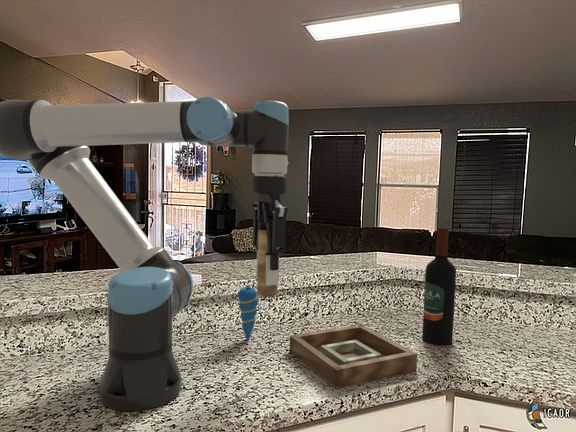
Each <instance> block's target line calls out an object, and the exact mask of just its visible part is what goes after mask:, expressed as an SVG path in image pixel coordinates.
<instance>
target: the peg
mask: <svg viewBox="0 0 576 432" xmlns="http://www.w3.org/2000/svg"><path fill="white" fill-rule="evenodd" d="M257 251H258V272H257V271H256V276H257V280H256V282H257V283H256V293H257V296H261V297H274V296H277V294H278V284H277V285H265V279H266V255H265V253H268V242H267V230H258V250H257Z"/></svg>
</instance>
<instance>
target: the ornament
mask: <svg viewBox="0 0 576 432" xmlns="http://www.w3.org/2000/svg"><path fill="white" fill-rule="evenodd" d="M237 296H238V301H239V304H238V308H239V310H240V319H241V322H242V323H241V327H242V330H243V333H244V337H245V338H246V340H247V341H248V340H250V338H251V335H252V333H253V331H254V330H253V329H254V326H255V323H256V316H257V312H258V304H259V298H258V294H257V289H255V288H253V287H251V286H250V284H246V285H245V287H242V288H241V289H240V290H239V291H238V294H237Z"/></svg>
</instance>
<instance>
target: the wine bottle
mask: <svg viewBox="0 0 576 432" xmlns="http://www.w3.org/2000/svg"><path fill="white" fill-rule="evenodd" d="M449 233H450V231H449V227H441V226H440V227H439V226H438V227H437V229H436V245H435V246H436V248H435V249H436V250H435V251H436V252H435V257H434V259H432V260H431V261H429V262H428V263H427V265H426V267H425V271H424V273H425V276H424V293H423V294H424V297H423V312H422V314H423V317H422V332H421V334H422V337H421V338H422V341H424V342H425V343H427V344H430V345H434V346H442V347H443V346H450V345H452V344H453V339H454V337H453V336H454V319H455V318H454V315H455V300H456V284H457V283H456V281H457V279H456V278H457V268H456V266H455V265H454V264H453V263H452V262H451V261H450V260H449V258H448V247H449V244H448V243H449V235H450V234H449Z"/></svg>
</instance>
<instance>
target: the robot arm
mask: <svg viewBox="0 0 576 432" xmlns="http://www.w3.org/2000/svg"><path fill="white" fill-rule="evenodd" d="M289 113H290V112H289V106H288V105H287V104H286V103H285V102H282V101H278V100H258V101H256V102H255V103H254V104H253V108H252V110H248V111H247V110H243V111H242V110H231V109H230V107H229V106H228V105H227V103H225V102H224V101H222V100H221V99H218V98H217V97H213V96H203V97H199V98H198V99H196V100H189V101H188V100H186V101H184V100H183V101H182V100H181V101H179V100H178V101H176V100H175V101H150V102H118V103H117V102H115V103H113V102H112V103H89V104H88V103H86V104H84V103H83V104H81V103H80V104H57V105H56V104H54V105H53V104H51V103H50V102H49V101H47V100H45V99H7V100H6V99H5V100H3V101H0V154H1V155H2V156H5V157H7V158H10V159H13V160H21V161H28V162H29V163H30V165H31V166H32V168H34V170H35V171H36V172H37V173H38V175H39V176H40V178H42V179H43V180H49V181H53V183H54V184H55V185H56V186H57V188H58V189H59V190H60V191H61V193H62V194H63V196H64V197H65V198H66V199H67V200H68V202H69V203H70V205H71V206H72V208H73V209H74V210H75V211H76V212H77V214H78V216H79V217H80V218H81V220H82V221H83V222H84V223H85V224H86V226H87V227H88V228H89V230H90V231H91V232H92V233H93V235H94V236H95V238H96V239H97V240H98V242H99V243H100V244H101V246H102V247H103V248H104V249H105V251H106V252H107V253H108V255H109V256H110V257H111V259H112V261H114V262H115V264H116V265H117V267H118V268H119V271H120V272H118V273H116V274H115V275H114V276H112V278H111V279H110V280H109V282H108V288H107V289H108V290H107V295H106V301H107V302H106V303H107V329H108V330H107V331H108V358H107V362H106V364H105V366H104V367H105V368H104V371H103V374H102V377H101V380H100V381H99V382H100V383H99V387H98V389H99V393H98V394H99V395H98V398H99V401H100V403H101V404H102V405H103V406H105V407H106V408H108V409H111V410H116V411H122V412H138V411H144V410H145V411H146V410H150V409H154V408H157V407H160V406H164V405H165V404H167V403H170V402H171V401H172V400H174V399H175V398H177V396H179V394H180V393H181V390H182V375H181V372H180V369H179V366H178V363H177V360H176V357H175V355H174V352H173V320H174V319H175V317H176V316H177V315H178V314H179V313H180V311H182V310H183V309H185V307H186V306H187V304H188V303H189V301H190V299H191V297H192V293H193V290H194V280H193V277H192V274H191V272H190V271H189V269H188V268H187V267H186V265H184V264H183V263H182V262H180V261H177V260H174V259H173V258H172V257H171V256H170V254H169V253H168V251H167V250H166V249H165V248H164V247H161V246H156V245H154V243H152V242H151V240H150V238H149V237H148V236H147V235H146V234H145V232H144V231H143V229H142V228H141V227H140V225H139V224H138V223H137V221H136V220H135V219H134V218H133V216H132V215H131V213H129V211H128V209H127V208H126V207H125V205H124V204H123V203H122V202H121V200H120V199H119V197H118V196H117V195H116V194H115V192H114V191H113V189H112V188H111V187H110V186H109V184H108V183H107V181H106V180H105V178H104V177H103V175H101V174H100V172H99V171H98V169H97V168H96V167H95V165H94V164H93V163H92V162H91V160H90V155H91V149H90V146H109V145H110V146H115V145H117V146H118V145H134V144H135V145H140V144H141V145H142V144H171V143H172V144H173V143H198V144H199V145H201V146H207V147H209V146H210V147H212V148H213V147H214V148H215V147H246V148H247V147H248V148H250V147H252V157H251V158H252V161H251V172H252V174H254V175H253V176H252V177H251V182H252V183H251V192H252V193H253V194H258V198H257V202H252V204H251V205H252V212H253V213H252V218H253V219H252V246H253V247H255V250H256V273H257V272H258V230H267V242H268V253H265V255H266V279H265V285H277V286H278V285H279V276H280V275H279V272H280V271H279V270H280V267H279V266H280V255H281V254H285V250H286V225H287V224H286V223H287V214H288V210H289V209H288V207H287V206H283V205H282V201H281V195H285V194H287V190H288V178H287V177H286V176H285V175H287V174H288V165H289V163H290V162H289V161H288V152H289V128H290V125H289V124H290V123H289V121H290V120H289V118H290V117H289ZM255 279H256V281H257V275H256V278H255Z"/></svg>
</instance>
